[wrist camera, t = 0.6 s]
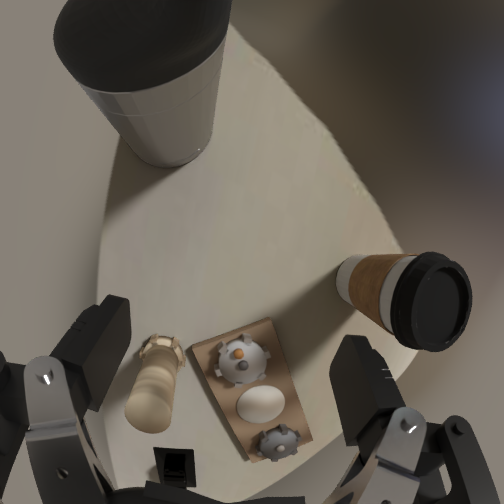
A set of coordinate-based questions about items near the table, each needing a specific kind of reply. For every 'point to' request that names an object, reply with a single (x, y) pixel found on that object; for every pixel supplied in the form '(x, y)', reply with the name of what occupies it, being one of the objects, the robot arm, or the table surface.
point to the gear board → (255, 390)
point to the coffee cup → (409, 296)
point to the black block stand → (176, 467)
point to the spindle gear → (155, 385)
